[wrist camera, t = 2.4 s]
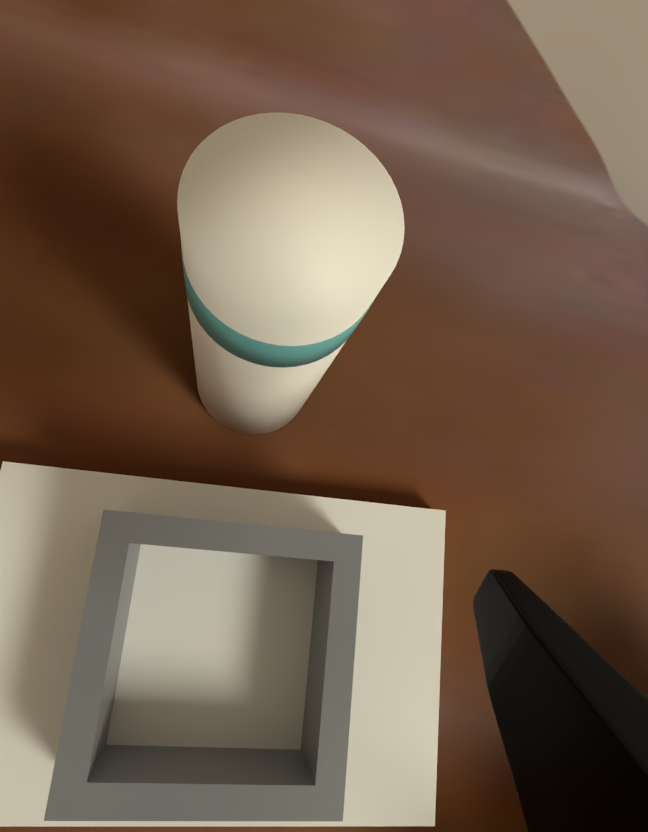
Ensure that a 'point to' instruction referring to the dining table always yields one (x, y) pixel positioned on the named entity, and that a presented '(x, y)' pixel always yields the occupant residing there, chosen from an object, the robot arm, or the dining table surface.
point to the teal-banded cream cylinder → (280, 259)
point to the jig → (214, 654)
